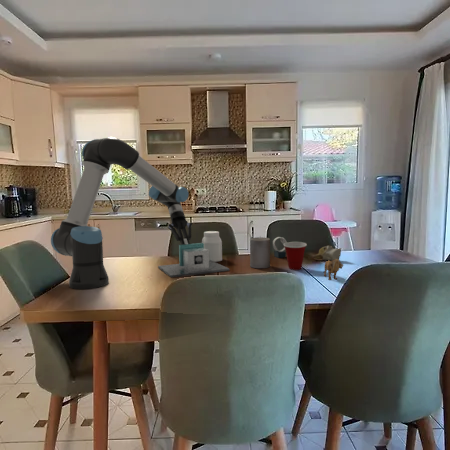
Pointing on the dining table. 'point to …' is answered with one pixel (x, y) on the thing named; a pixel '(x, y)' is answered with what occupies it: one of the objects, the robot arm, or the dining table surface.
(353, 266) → the dining table surface
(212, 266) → the block
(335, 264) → the lion figurine
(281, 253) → the watch
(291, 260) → the plastic cup
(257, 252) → the pillar candle
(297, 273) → the dining table surface
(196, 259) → the teal piece
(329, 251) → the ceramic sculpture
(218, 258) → the jar
